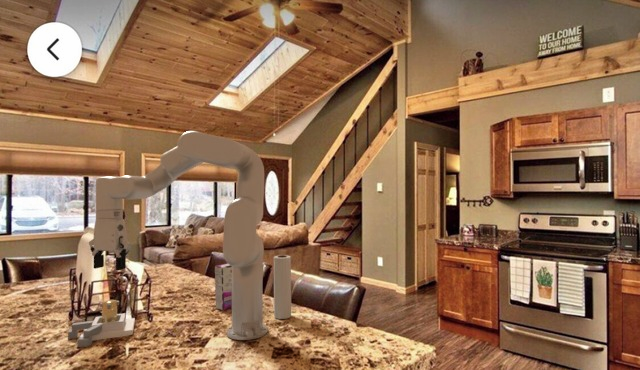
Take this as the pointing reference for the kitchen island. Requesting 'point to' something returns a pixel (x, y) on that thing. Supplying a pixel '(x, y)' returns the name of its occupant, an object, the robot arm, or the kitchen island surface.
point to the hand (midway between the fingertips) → (109, 268)
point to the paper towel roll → (282, 286)
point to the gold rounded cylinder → (109, 310)
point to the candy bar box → (223, 286)
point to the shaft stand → (101, 329)
